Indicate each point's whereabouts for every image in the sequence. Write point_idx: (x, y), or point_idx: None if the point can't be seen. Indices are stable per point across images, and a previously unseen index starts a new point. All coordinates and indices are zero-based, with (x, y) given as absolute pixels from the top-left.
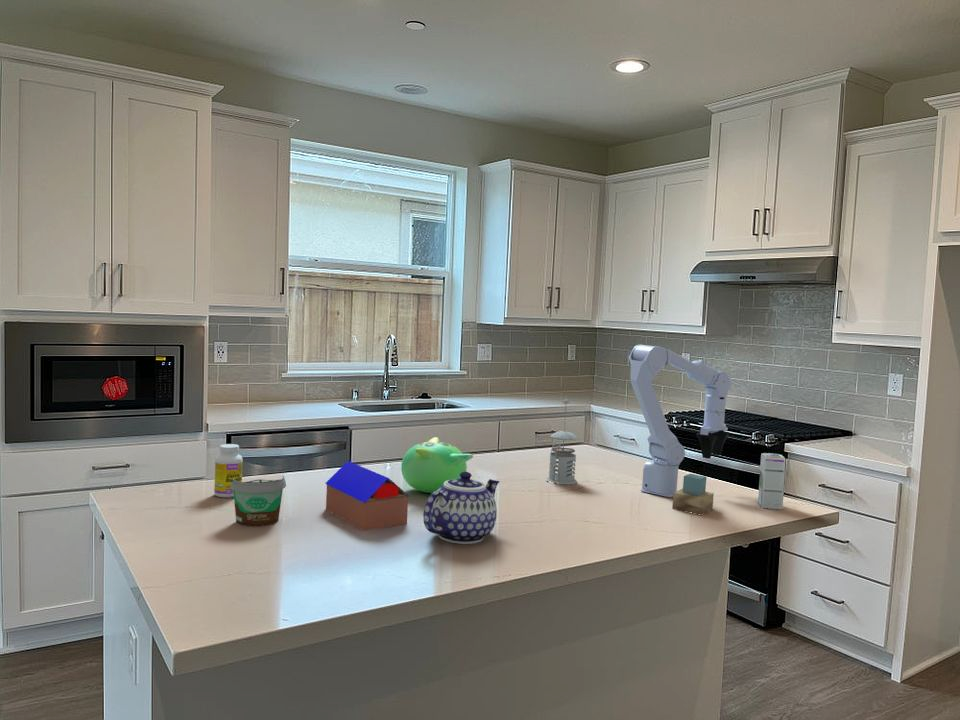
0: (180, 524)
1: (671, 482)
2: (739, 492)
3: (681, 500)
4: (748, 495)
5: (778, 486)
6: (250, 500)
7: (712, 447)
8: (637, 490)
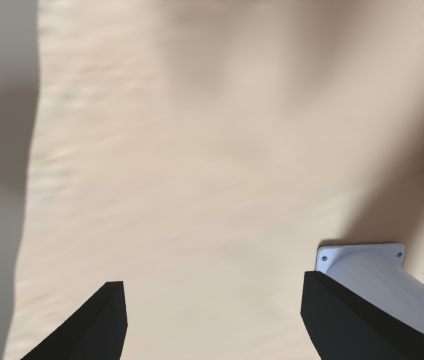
0: None
1: (418, 280)
2: (123, 115)
3: None
4: (142, 68)
5: None
6: None
7: (387, 331)
8: None
